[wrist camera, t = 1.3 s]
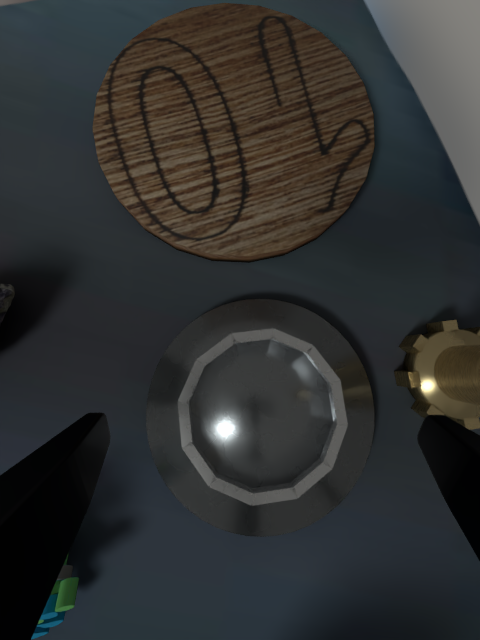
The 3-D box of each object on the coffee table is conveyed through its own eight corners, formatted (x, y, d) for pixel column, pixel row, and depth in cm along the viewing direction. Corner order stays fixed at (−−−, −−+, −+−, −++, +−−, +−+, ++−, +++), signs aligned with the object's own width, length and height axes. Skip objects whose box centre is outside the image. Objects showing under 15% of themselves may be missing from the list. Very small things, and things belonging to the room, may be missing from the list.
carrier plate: (386, 509, 21) (400, 523, 20) (159, 544, 20) (152, 562, 19) (348, 290, 24) (357, 285, 22) (141, 313, 23) (134, 310, 21)
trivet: (307, 1, 28) (312, -24, 26) (406, 214, 25) (420, 202, 23) (70, 64, 26) (58, 42, 24) (150, 302, 23) (143, 298, 21)
